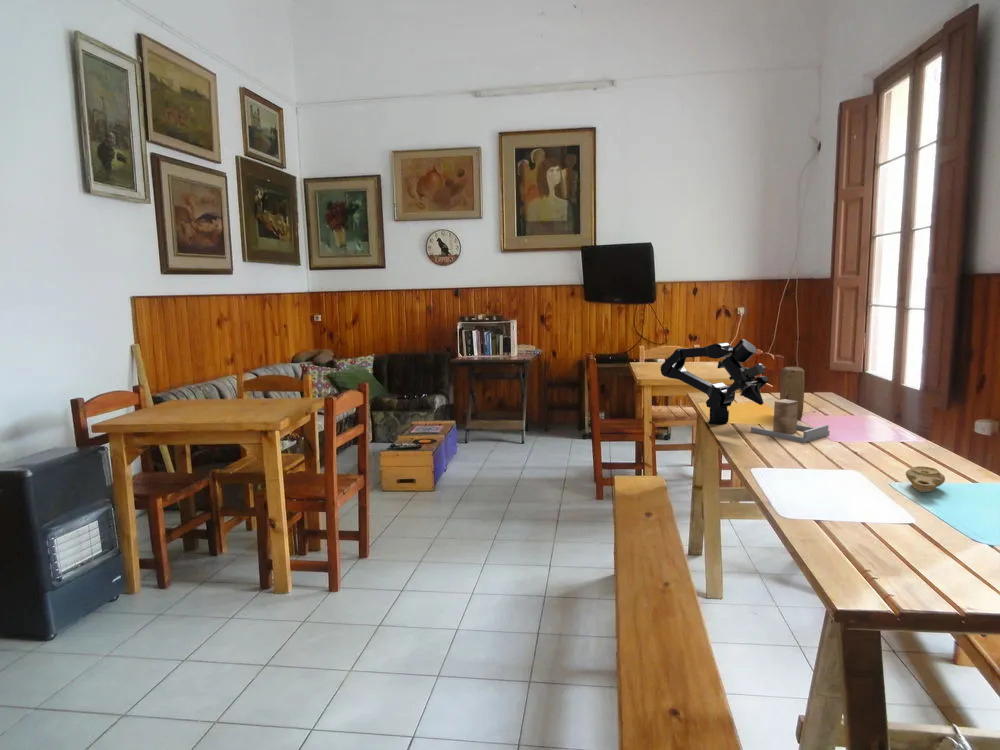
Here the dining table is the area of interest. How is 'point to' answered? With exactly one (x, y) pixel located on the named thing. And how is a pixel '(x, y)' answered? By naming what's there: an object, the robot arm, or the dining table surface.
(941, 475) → the oil lamp
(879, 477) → the dining table surface
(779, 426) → the slider
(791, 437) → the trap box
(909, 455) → the dining table surface
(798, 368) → the block
